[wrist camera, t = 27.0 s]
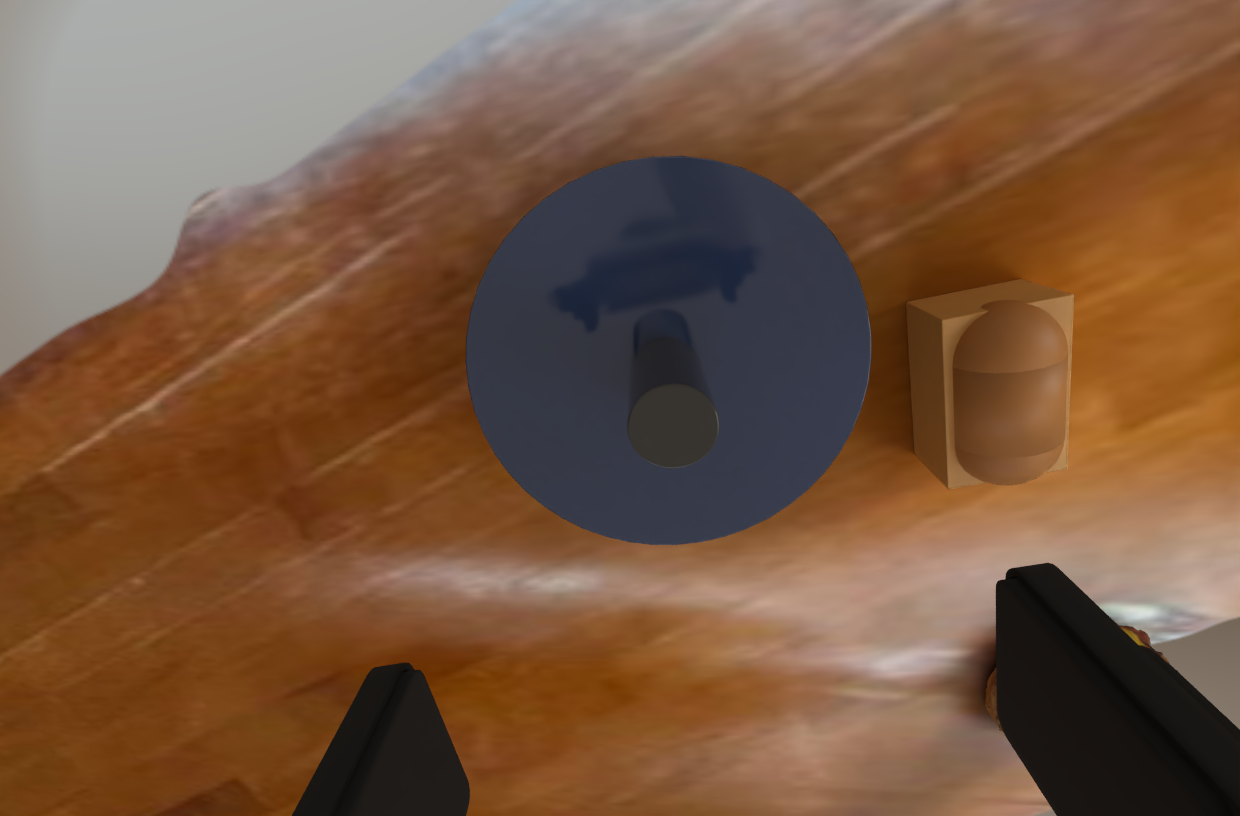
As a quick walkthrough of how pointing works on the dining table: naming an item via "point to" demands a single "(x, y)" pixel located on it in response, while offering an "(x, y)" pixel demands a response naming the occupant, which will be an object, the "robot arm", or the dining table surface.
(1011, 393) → the bread
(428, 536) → the dining table surface
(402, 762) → the robot arm
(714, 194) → the lid
